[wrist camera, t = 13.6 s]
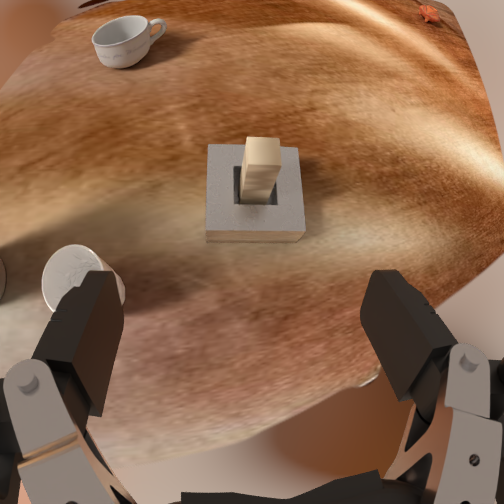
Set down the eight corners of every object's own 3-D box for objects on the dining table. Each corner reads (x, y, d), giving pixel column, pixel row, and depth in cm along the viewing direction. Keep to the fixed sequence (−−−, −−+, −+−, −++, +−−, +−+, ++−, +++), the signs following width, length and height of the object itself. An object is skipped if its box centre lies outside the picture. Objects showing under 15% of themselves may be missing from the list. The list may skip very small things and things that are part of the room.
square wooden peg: (238, 209, 42) (248, 164, 30) (238, 187, 43) (247, 136, 31) (264, 210, 42) (281, 165, 31) (262, 187, 43) (279, 138, 32)
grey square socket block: (206, 242, 41) (205, 230, 37) (208, 163, 44) (208, 144, 40) (295, 242, 43) (305, 231, 38) (289, 165, 46) (297, 147, 41)
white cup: (91, 255, 39) (59, 233, 29) (139, 278, 39) (117, 261, 29) (69, 308, 37) (31, 299, 27) (116, 333, 37) (87, 332, 27)
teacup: (97, 80, 47) (86, 51, 39) (104, 48, 49) (96, 20, 42) (168, 67, 49) (165, 35, 41) (168, 36, 51) (166, 7, 44)
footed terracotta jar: (411, 12, 68) (420, -2, 62) (419, 15, 71) (428, 3, 66) (429, 26, 66) (439, 13, 61) (436, 29, 70) (446, 16, 64)
